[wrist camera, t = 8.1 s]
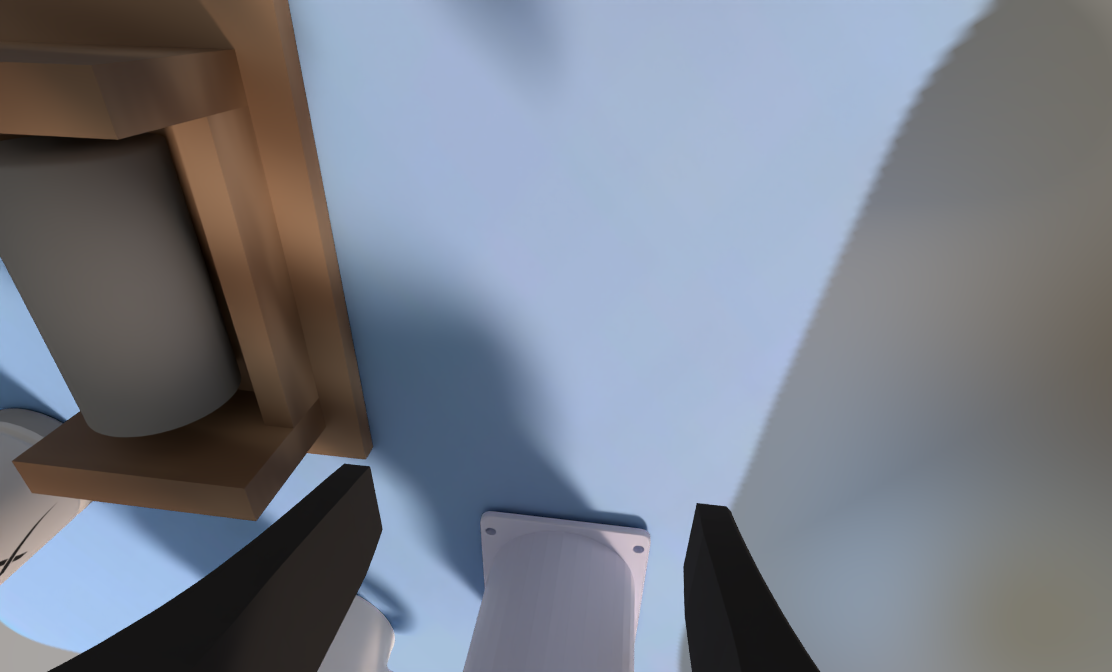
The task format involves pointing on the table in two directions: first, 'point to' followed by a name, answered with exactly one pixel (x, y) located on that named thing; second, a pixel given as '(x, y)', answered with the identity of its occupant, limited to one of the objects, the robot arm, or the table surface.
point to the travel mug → (26, 493)
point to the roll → (115, 279)
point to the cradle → (203, 236)
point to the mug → (360, 641)
